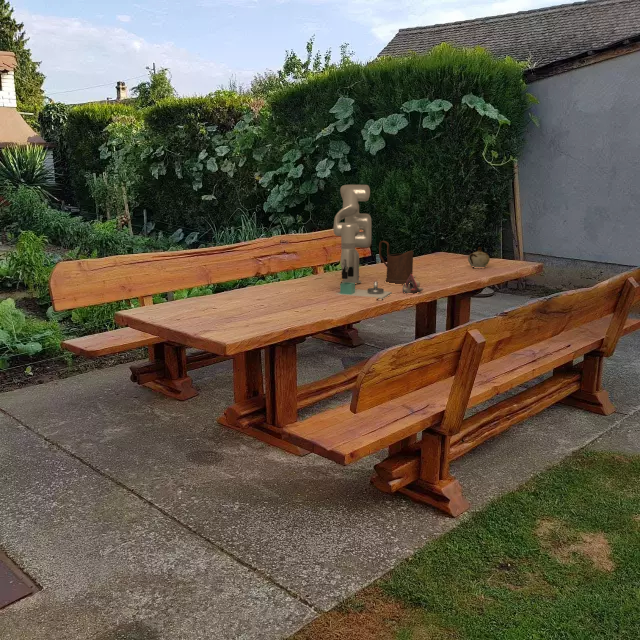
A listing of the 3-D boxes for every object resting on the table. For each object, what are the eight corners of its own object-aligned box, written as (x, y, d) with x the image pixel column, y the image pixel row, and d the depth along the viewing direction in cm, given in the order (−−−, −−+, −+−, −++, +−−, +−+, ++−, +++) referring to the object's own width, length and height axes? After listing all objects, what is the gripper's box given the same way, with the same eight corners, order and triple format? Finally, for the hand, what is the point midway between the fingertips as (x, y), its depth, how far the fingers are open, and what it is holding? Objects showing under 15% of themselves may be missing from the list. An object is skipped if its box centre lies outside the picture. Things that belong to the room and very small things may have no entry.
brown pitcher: (404, 286, 406) (405, 244, 400) (371, 282, 420) (371, 242, 415) (419, 282, 420) (421, 242, 415) (386, 278, 434) (387, 239, 429)
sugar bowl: (478, 265, 491) (479, 245, 488) (495, 268, 480) (496, 247, 477) (461, 268, 479) (462, 247, 476) (477, 270, 468) (479, 249, 465)
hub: (370, 290, 381) (370, 279, 380) (385, 292, 378) (385, 280, 377) (365, 293, 373) (365, 282, 372) (380, 294, 370) (381, 283, 369)
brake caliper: (395, 288, 385) (406, 270, 386) (408, 298, 390) (419, 281, 391) (406, 291, 375) (417, 273, 376) (419, 301, 380) (430, 284, 381)
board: (346, 291, 389) (346, 288, 389) (391, 294, 379) (391, 291, 379) (334, 296, 372) (334, 294, 371) (381, 300, 362) (381, 297, 362)
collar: (344, 291, 378) (344, 282, 377) (354, 292, 376) (355, 282, 375) (340, 293, 373) (340, 283, 371) (351, 294, 370) (351, 284, 369)
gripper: (347, 245, 378) (346, 275, 381) (336, 247, 362) (335, 279, 365) (359, 245, 375) (359, 276, 378) (349, 248, 359) (348, 280, 363)
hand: (347, 277), depth 372 cm, fingers open, 9 cm apart
